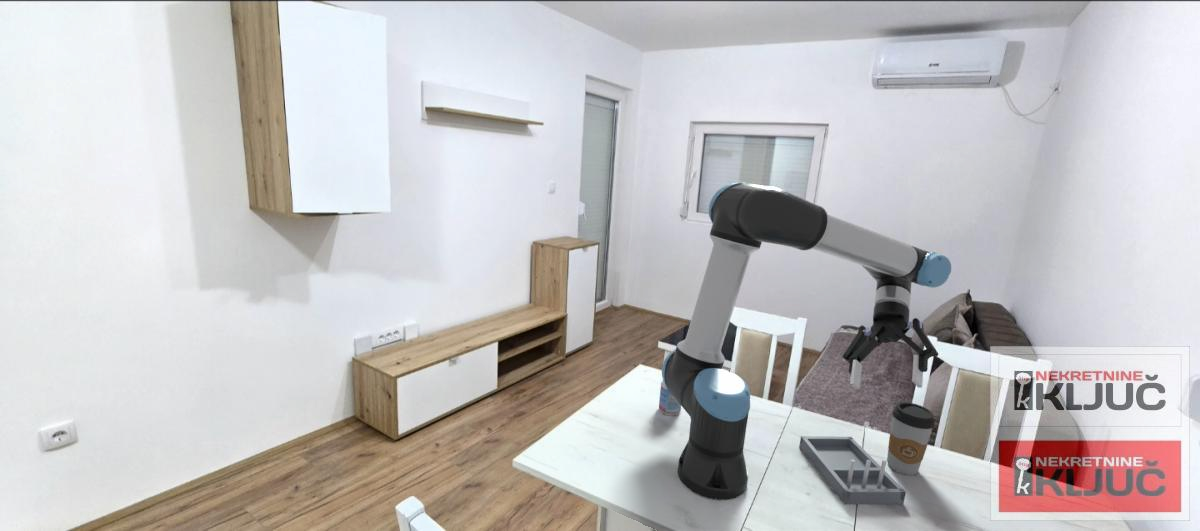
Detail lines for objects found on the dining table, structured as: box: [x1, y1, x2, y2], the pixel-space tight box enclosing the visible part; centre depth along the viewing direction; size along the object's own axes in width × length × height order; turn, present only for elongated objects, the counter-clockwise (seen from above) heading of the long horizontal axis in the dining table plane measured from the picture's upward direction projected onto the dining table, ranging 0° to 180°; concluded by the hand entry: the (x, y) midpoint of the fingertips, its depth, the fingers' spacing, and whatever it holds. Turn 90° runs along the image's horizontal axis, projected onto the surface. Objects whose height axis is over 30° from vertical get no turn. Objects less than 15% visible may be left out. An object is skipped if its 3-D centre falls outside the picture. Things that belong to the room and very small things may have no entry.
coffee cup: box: [886, 401, 936, 476], centre depth 111 cm, size 8×8×15 cm
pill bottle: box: [658, 379, 682, 416], centre depth 131 cm, size 6×6×11 cm
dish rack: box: [798, 435, 907, 505], centre depth 108 cm, size 20×13×8 cm, turn 4°
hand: (884, 385), depth 107 cm, fingers open, 13 cm apart
